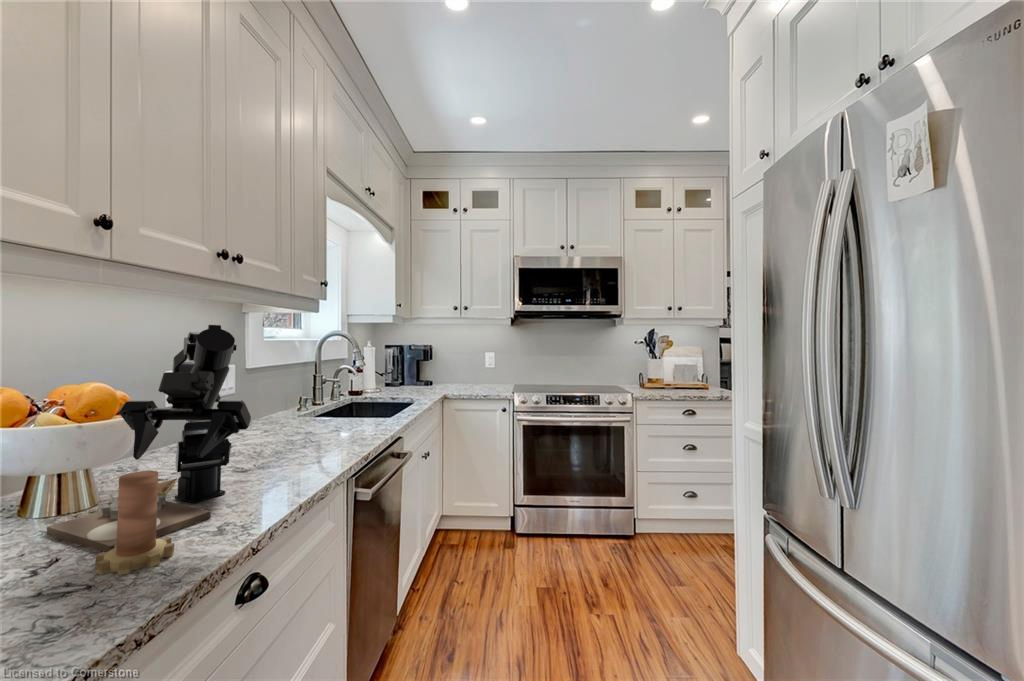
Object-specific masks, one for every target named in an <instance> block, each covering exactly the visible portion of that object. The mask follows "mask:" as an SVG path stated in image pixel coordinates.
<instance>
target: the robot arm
mask: <svg viewBox="0 0 1024 681" xmlns="http://www.w3.org/2000/svg"><path fill="white" fill-rule="evenodd" d="M207 326H208V327H207V329H204V330H202V331H200V332H199V331H190V332H188V335H187V337H184V339H183V349H181V351H179V352H178V353H177V354H176V355H175V356H174V357H173V360H172V362H173V363H172V369H171V370H172V372H169V371H168V372H163V375H162V378H161V380H160V384H159V386H158V392H159V393H163V394H165V395H166V396H167V397H166V399H165V400H166V402H167V403H168V404H169V405H172V406H171V407H158V406H157V404H156V402H154V400H128V401H125V402H124V403H123V404H122V406H121V407H120V409H119V410H118V412H117V413H118V414H119V415H120V416H121V418H122V419H123V421H124V422H125V423H126V424H127V425H128V427H129V428H130V430H132V431H134V442H133V452H132V453H133V455H132V457H133V458H134V460H137V461H139V460H140V459H141V458H142V457H143V456H144V455H145V453H146V451H147V450H148V449H149V447H150V446H151V444H152V443H153V442H154V440H155V438H157V436H158V435H159V431H158V429H160V428H161V426H162V424H163V423H164V422H163V421H186V422H185V423H184V425H183V430H182V432H181V441H177V445H176V452H175V453H176V454H175V470H176V473H180V477H178V478H177V494H176V495H174V499H175V500H179V501H185V502H189V503H193V504H194V503H195V504H196V503H200V502H202V501H206V500H209V499H212V498H215V497H217V496H221V495H225V494H226V490H223V489H221V481H222V480H221V479H222V467H223V466H224V467H226V466H228V464H230V454H231V449H232V443H231V441H229V437H230V436H231V435H233V434H238V433H239V432H240V431H244V430H247V429H248V428H249V427H250V423H251V419H252V416H251V414H250V412H249V410H248V407H247V404H246V402H244V401H243V399H242V400H238V399H237V400H221V396H220V392H221V389H222V388H223V385H224V383H225V381H226V378H227V376H228V375H229V373H230V366H229V365H230V363H231V359H232V355H233V354H234V351H235V352H236V351H237V344H235V341H236V339H235V337H234V336H233V335H232V334H231V333H230V332H229V331H227V330H225V329H222V325H221V324H208V325H207ZM187 360H188V361H187ZM215 403H217V405H216V408H213V407H214V406H215Z"/></svg>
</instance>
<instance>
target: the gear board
mask: <svg viewBox="0 0 1024 681" xmlns="http://www.w3.org/2000/svg"><path fill="white" fill-rule="evenodd" d="M107 503H108V505H105V506H102V510H101V511H98V512H94V513H90V514H87V515H84V516H80V517H76V518H74V519H70V520H66V521H65V520H64V521H62V522H59V523H55V524H52V525H48V526H46V535H49V536H51V537H56V538H58V539H61V540H65V541H67V542H72V543H75V544H77V545H81V546H83V545H84V547H86V546H87V547H86V548H89V547H91V548H90V549H92V548H93V550H96V551H99V550H100V552H101V553H103V552H108V551H110V550H112V549H114V545H117V519H118V499H115V500H114V499H113V500H111V501H109V502H107ZM207 518H208V519H210V518H211V510H207V509H203V508H198V507H194V506H190V505H186V504H180V503H177V502H174V501H173V502H172V501H168V500H166V496H165V495H163V496H157V525H156V538H158V537H161V536H164V535H166V534H168V533H172V532H174V531H177V530H180V529H183V528H186V527H188V526H191V525H194V524H197V523H199V521H200V522H203V521H205V520H208V519H207ZM202 520H203V521H202Z"/></svg>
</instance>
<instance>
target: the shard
mask: <svg viewBox="0 0 1024 681" xmlns="http://www.w3.org/2000/svg"><path fill="white" fill-rule="evenodd" d="M176 481H178V478H177V477H176V478H174V479H170V480H166V481H162V482H158V495H157V496H163V495H165V497H166V496H167V493H168V492H169V491H171V490H172V489H173V488H174V487H175V485H176ZM174 484H175V485H174ZM173 486H174V487H173ZM172 487H173V488H172Z"/></svg>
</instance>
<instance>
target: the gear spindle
mask: <svg viewBox="0 0 1024 681" xmlns="http://www.w3.org/2000/svg"><path fill="white" fill-rule="evenodd" d="M158 483H159V472H158V471H157V470H141V471H134V472H130V473H125V474H122V475H120V476H118V496H117V497H118V498H117V500H118V519H117V545H114V549H112V550H110V551H108V552H99V553H97V555H96V556H95V566H94V567H95V568H96V574H97V575H100V576H103V575H104V573H105V574H107V572H108V573H118V576H122V575H128V574H130V573H131V572H132V571H133V570H137V569H142V568H145V567H148V568H153V567H155V566H157V565H160V562H161V561H160V560H162V559H163V558H166V557H172V556H173V555H174V554H175V542H172V537H170V536H165V537H163V538H157V537H156V525H157V495H158ZM96 566H97V567H96Z"/></svg>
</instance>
